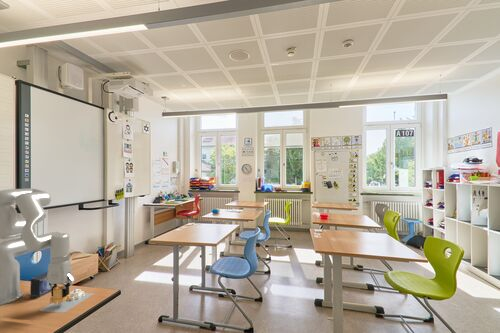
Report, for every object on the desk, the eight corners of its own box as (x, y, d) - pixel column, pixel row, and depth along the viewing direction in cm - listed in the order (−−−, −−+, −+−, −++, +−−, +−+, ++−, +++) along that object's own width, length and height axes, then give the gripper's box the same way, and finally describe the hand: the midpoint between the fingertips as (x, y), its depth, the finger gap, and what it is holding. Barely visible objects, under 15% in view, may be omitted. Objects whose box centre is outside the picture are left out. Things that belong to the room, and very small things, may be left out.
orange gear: (45, 303, 115) (45, 291, 115) (60, 295, 123) (60, 283, 123) (59, 304, 113) (59, 291, 114) (74, 295, 121) (74, 284, 122)
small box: (38, 299, 128) (38, 279, 128) (29, 298, 129) (29, 278, 130) (58, 289, 138) (58, 271, 139) (49, 288, 140) (49, 270, 140)
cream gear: (63, 300, 124) (63, 294, 124) (75, 293, 131) (75, 287, 131) (75, 301, 123) (75, 295, 123) (87, 293, 130) (87, 288, 130)
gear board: (38, 313, 115) (38, 302, 115) (72, 294, 132) (72, 284, 132) (63, 315, 112) (63, 304, 113) (94, 295, 130) (94, 286, 130)
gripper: (37, 261, 116) (38, 298, 116) (68, 262, 114) (68, 300, 113) (52, 256, 124) (52, 291, 123) (81, 256, 121) (81, 292, 120)
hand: (60, 295), depth 118 cm, fingers closed on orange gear, 5 cm apart
